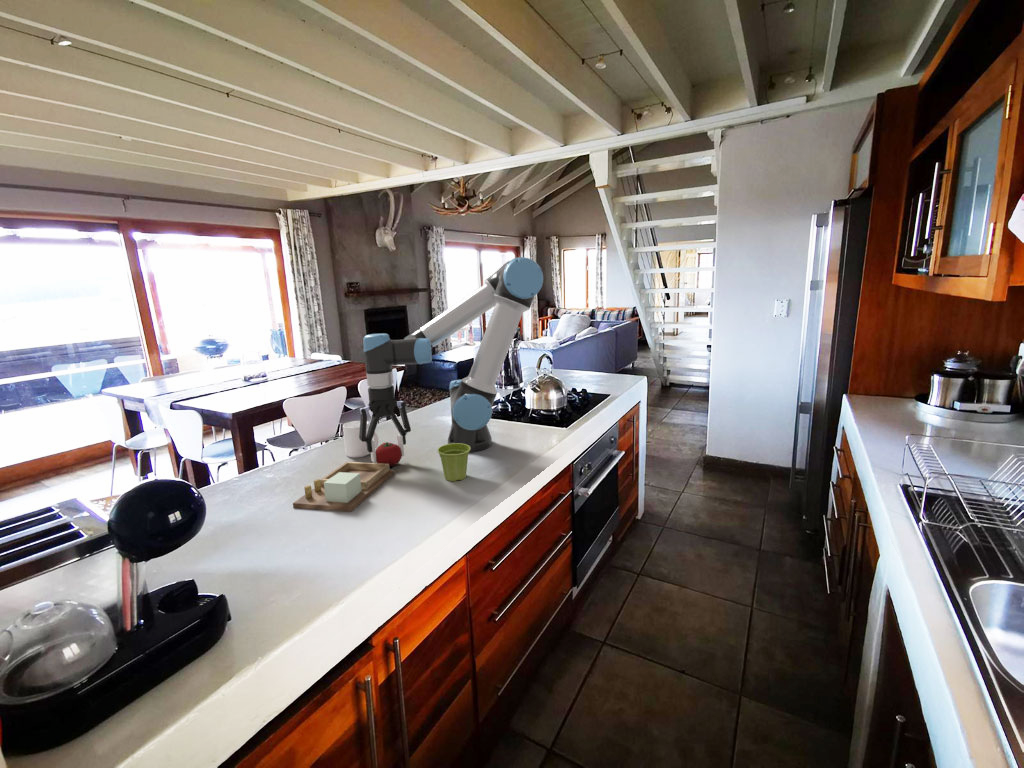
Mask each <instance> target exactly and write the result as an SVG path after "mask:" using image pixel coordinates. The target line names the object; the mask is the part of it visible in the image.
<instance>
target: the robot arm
mask: <svg viewBox="0 0 1024 768" xmlns="http://www.w3.org/2000/svg"><path fill="white" fill-rule="evenodd" d="M543 283H544V274H543V271H542V268H541V266H540V265H539V264H538V263H537V262H536V261H535V260H534V259H531V258H528V257H524V256H519V257H515V258H512V259H511V260H508V261H506V262H505V263H503V264H502V266H501V267H499V268H498V269H497V270H496V271H495V272H494V273H493V274H492V275H490V276H489V277H488V278H486V279H485V280H484V284H483V285H481V286H480V287H478V288H477V289H476V290H474V291H472V292H471V293H469V294H467V296H466V297H463V298H462V299H461V300H459V301H457V302H456V303H455V304H453V305H452V306H451V307H449V308H447V309H446V310H444V311H443V312H441V313H440V314H438V315H437V316H436V317H434V318H433V319H431V320H430V321H428V322H427V323H425V324H424V325H423V326H421V327H420V328H418V329H417V330H415V331H413V332H412V333H410V334H408V335H407V336H405V337H404V338H403V339H391V338H390V334H388V333H371V334H370V333H369V334H366V335H365V336H364V337H363V339H362V340H363V342H362V344H363V356H364V365H365V374H366V381H367V386H368V388H367V393H368V401H369V402H368V405H367V406H365V407H359V409H358V411H359V415H360V418H359V419H360V420H359V421H360V433H359V439H360V440H361V441H362V442H366V445H367V451H368V452H369V453H370V452H371V453H370V460H371V463H377V461H376V452H375V451H376V448H375V442H374V438H373V435H374V432H375V433H376V428H377V425H378V422H379V421H380V420H381V419H382V418H383V417H389V418H390V420H391V421H392V423H393V424H394V426H395V428H396V429H397V431H398V433H397V435H396V436H397V437H396V438H397V445H398V446H399V447H400V449H401V452H402V456H401V457H405V448H404V445H406V444H407V440H406V436H407V434H408V433H410V432H411V431H412V428H411V424H410V421H409V417H408V414H407V410H406V406H407V403H406V402H405V401H403V400H398V401H397V400H396V395H395V387H394V384H395V383H394V375H393V366H402V365H403V366H404V365H423V364H429V363H431V362H432V360H433V357H432V353H433V352H432V349H433V348H434V347H436V346H437V345H439V344H440V343H442V342H443V341H445V340H447V339H448V338H449V337H451V336H452V335H453V334H455V333H457V332H458V331H460V330H461V329H463V328H464V327H466V326H467V325H469V324H470V323H472V322H473V321H475V320H476V319H477V318H479V317H481V316H482V315H483V314H485V313H486V312H488V311H489V310H491V309H492V308H493V309H492V313H491V316H490V318H489V321H488V323H487V326H486V329H485V332H484V335H483V337H482V340H481V341H480V345H479V348H478V350H477V353H476V355H475V358H474V361H473V364H472V366H471V368H470V370H469V374H468V375H467V376H466V377H464V378H462V379H455V380H451V381H450V382H449V388H448V390H449V397H450V398H449V399H450V416H451V426H450V429H449V430H450V431H449V434H448V438H447V444H453V443H462V444H466V445H469V446H470V447H471V449H470V451H469V453H471V452H478V451H483V450H487V449H488V448H490V447H491V446H492V444H493V441H492V440H493V439H492V435H491V433H490V430H489V429H490V428H489V427H488V423H489V422H490V420H491V419H492V414H493V405H494V403H495V399H496V397H497V394H498V390H497V388H496V383H497V380H498V378H499V376H500V373H501V370H502V368H503V366H504V362H505V360H506V357H507V355H508V352H509V349H510V347H511V344H512V343H513V339H514V336H515V334H516V331H517V329H518V326H519V324H520V321H521V319H522V316H523V314H524V313H525V312H527V311H529V310H530V309H531V307H532V304H533V301H534V299H535V296H537V295H538V293H539V292H540V290H541V289H542V287H543ZM396 408H398V410H399V411H398V412H399V415H400V419H401V422H402V423H401V422H400V420H399V419H398V416H397V415H396V413H395V412H394V410H395V409H396ZM369 411H370V412H372V415H371V419H370V421H369V429H368V432H367V435H366V426H367V421H368V414H369ZM380 418H381V419H380ZM402 425H403V426H402Z"/></svg>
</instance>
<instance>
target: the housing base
mask: <svg viewBox="0 0 1024 768" xmlns="http://www.w3.org/2000/svg"><path fill="white" fill-rule="evenodd" d="M339 472H346V473H360V479H361V489H362V491H361V492H360V493H359V494H358V495H356V496H355V497H354V498H353V499H352V500H350V501H349V502H348V503H343V502H328V501H326V498H325V489H324V482H326V481H327V480H329V479H330V478H331V477H333V476H334V475H336V474H337V473H339ZM394 475H395V470H394V469H391V468H390V466H389V464H383V463H374V462H359V461H358V462H357V461H345V462H344V463H343V464H341V465H340V466H339V467H337V468H336V469H334V470H332V471H331V472H330V473H328V474H327V475H325V476H324V477H322V478H320V479H314V480H313V486H314V488H313V489H312V485H305V486H304V495H303V496H301V497H299V498H298V499H297V500H295V501H294V502H292V507H293V508H294V509H296V508H297V509H309V510H321V511H337V512H339V511H340V512H348V513H349V512H352V511H353V510H355V509H357V507H359V505H360V504H362V503H363V502H364V501H365V500H366V499H367V498H368V497H370V496H371V495H372V494H374V492H375V491H377V490H378V489H379V488H380V487H381V486H382V485H384V483H386V482H387V481H388V480H389V479H390V478H391V477H393V476H394Z"/></svg>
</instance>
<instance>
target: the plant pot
mask: <svg viewBox="0 0 1024 768" xmlns="http://www.w3.org/2000/svg"><path fill="white" fill-rule="evenodd" d="M470 449H471V447H470V446H469V445H466V444H462V443H453V444H448V443H447V444H443V445H441V446H439V447H438V448H437V453H438V454H439V457H440V461H441V466H442V470H443V471H442V472H443V476H444V479H445V480H447V481H448V482H449V481H450V482H457V481H462V480H465V479H466V477H467V472H468V471H467V470H468V459H469V454H470V452H469V451H470Z"/></svg>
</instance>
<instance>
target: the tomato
mask: <svg viewBox="0 0 1024 768" xmlns="http://www.w3.org/2000/svg"><path fill="white" fill-rule="evenodd" d="M375 452H376V461H377V463H383V464H389V467H392V466H395V465H397V464H399V463H400V461H401V459H402V457H403V456H402V452H401V449H400V447H399V446H398V443H396V444H395V443H393V442H392V443H391V442H383V443H382V444H380V445H379V446H377V447H376V448H375Z"/></svg>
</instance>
